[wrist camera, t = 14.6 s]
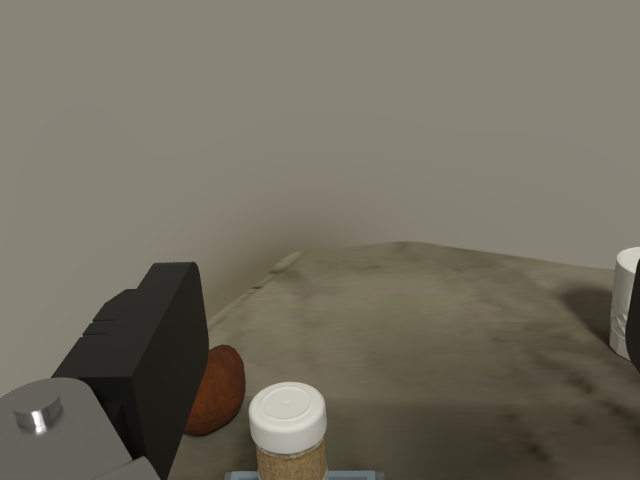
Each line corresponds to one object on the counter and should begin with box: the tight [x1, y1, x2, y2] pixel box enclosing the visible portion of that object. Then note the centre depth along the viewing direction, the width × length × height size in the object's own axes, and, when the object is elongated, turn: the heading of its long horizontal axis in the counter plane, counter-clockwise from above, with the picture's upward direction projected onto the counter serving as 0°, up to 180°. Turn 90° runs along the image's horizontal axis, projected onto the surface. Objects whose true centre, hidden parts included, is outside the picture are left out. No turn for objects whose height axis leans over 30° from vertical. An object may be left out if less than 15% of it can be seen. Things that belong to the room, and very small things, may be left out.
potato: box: [184, 345, 245, 435], centre depth 56 cm, size 7×9×6 cm
